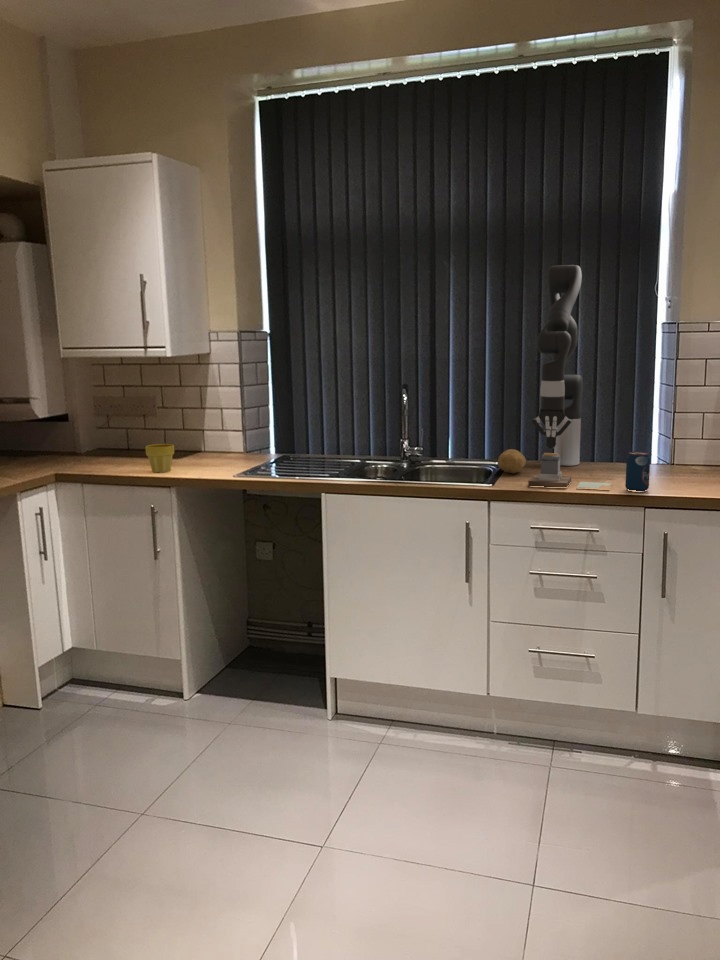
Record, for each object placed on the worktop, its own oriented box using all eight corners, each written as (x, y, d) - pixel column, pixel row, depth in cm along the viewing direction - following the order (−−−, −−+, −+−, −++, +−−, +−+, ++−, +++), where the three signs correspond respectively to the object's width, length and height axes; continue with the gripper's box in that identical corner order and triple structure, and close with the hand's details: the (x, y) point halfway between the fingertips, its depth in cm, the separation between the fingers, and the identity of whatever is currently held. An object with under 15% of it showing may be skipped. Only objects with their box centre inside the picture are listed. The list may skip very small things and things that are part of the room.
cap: (543, 470, 267) (543, 451, 266) (560, 471, 265) (560, 452, 264) (540, 473, 262) (540, 454, 261) (557, 474, 260) (558, 455, 259)
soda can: (648, 493, 249) (650, 454, 246) (624, 492, 251) (626, 454, 249) (649, 489, 255) (650, 451, 253) (625, 488, 257) (627, 450, 255)
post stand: (534, 480, 272) (535, 457, 271) (571, 482, 268) (571, 458, 266) (528, 487, 261) (529, 462, 260) (566, 489, 257) (567, 464, 255)
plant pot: (153, 468, 308) (152, 443, 306) (179, 469, 307) (178, 443, 305) (142, 473, 298) (140, 447, 296) (169, 473, 297) (167, 447, 295)
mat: (580, 483, 266) (580, 481, 266) (611, 485, 262) (611, 483, 262) (576, 489, 257) (576, 487, 257) (609, 491, 253) (609, 489, 253)
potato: (497, 476, 281) (497, 453, 279) (498, 469, 294) (498, 447, 293) (525, 476, 279) (526, 454, 278) (525, 469, 293) (526, 447, 291)
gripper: (575, 393, 260) (573, 447, 263) (533, 393, 265) (532, 445, 268) (572, 396, 253) (570, 450, 257) (529, 395, 258) (528, 449, 261)
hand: (551, 448), depth 262 cm, fingers closed
